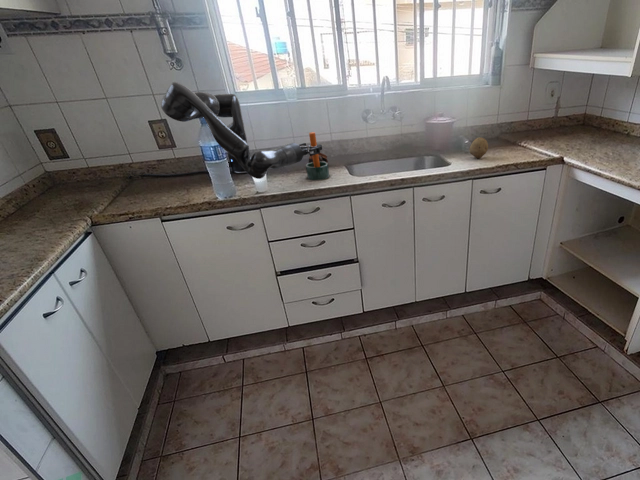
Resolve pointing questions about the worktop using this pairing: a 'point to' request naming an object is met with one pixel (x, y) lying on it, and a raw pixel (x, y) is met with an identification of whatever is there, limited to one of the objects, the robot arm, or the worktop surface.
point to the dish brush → (314, 143)
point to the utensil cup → (317, 171)
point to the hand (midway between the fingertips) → (313, 146)
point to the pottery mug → (321, 158)
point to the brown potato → (478, 147)
